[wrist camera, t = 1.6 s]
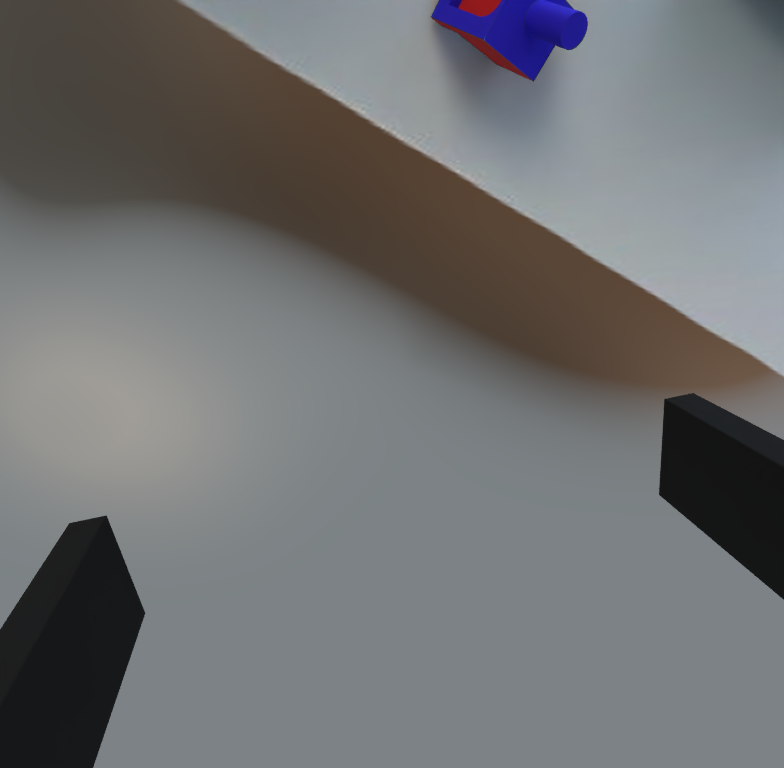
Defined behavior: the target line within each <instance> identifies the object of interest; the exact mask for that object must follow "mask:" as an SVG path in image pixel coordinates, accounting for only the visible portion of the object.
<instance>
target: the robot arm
mask: <svg viewBox="0 0 784 768" xmlns="http://www.w3.org/2000/svg"><path fill="white" fill-rule="evenodd" d="M664 401H665V402H664V418H663V436H662V453H661V471H660V488H659V495H660V496H661V497H662V498H664V499H665V500H666V501H667V502H668V503H670V504H671V505H672V506H673V507H674V508H676V509H677V510H678V511H679V512H680V513H681V514H683V515H684V516H685V517H686V518H687V519H689V520H690V521H691V522H692V523H694V524H695V525H696V526H697V527H698V528H699V529H701V530H702V531H703V532H704V533H705V534H707V535H708V536H709V537H710V538H712V540H714V541H715V542H716V543H717V544H718V545H720V546H721V547H722V548H723V549H724V550H725V551H727V552H728V553H729V554H730V555H731V556H733V557H734V558H735V559H736V560H737V561H738V562H740V563H741V564H742V565H743V566H744V567H746V568H747V569H748V570H749V571H750V572H752V573H753V574H754V575H755V576H756V577H758V578H759V579H760V580H761V581H762V582H763V583H765V584H766V585H767V586H768V587H769V588H771V589H772V590H773V591H774V592H775V593H777V594H778V595H779V596H780V597H782V598H783V599H784V440H782V439H780V438H779V437H776V436H775V435H773V434H771V433H769V432H767V431H765V430H763V429H761V428H759V427H757V426H755V425H753V424H751V423H750V422H748V421H746V420H744V419H742V418H740V417H738V416H736V415H734V414H732V413H730V412H728V411H727V410H725V409H723V408H721V407H719V406H717V405H715V404H713V403H711V402H709V401H707V400H705V399H703V398H701V397H700V396H698V395H696V394H694V393H692V394H688V395H682V396H677V397H673V398H668V399H665V400H664ZM144 615H145V612H144V609H143V607H142V604H141V602H140V599H139V596H138V594H137V591H136V589H135V586H134V584H133V582H132V579H131V576H130V574H129V572H128V569H127V566H126V564H125V561H124V559H123V556H122V554H121V551H120V548H119V546H118V543H117V542H116V538H115V536H114V533H113V531H112V528H111V526H110V523H109V521H108V518H107V516H102V517H98V518H92V519H88V520H83V521H78V522H73V523H69V525H68V526H67V528H66V529H65V531H64V532H63V534H62V535H61V537H60V539H59V540H58V542H57V543H56V545H55V546H54V548H53V549H52V551H51V552H50V554H49V555H48V557H47V558H46V560H45V562H44V563H43V565H42V566H41V568H40V569H39V571H38V572H37V574H36V575H35V577H34V579H33V580H32V582H31V583H30V585H29V586H28V588H27V589H26V591H25V592H24V594H23V595H22V597H21V598H20V600H19V602H18V603H17V605H16V606H15V608H14V609H13V611H12V612H11V614H10V615H9V617H8V618H7V620H6V622H5V623H4V625H3V627H2V628H1V629H0V768H93V766H94V763H95V760H96V757H97V754H98V751H99V748H100V745H101V742H102V739H103V737H104V734H105V731H106V728H107V724H108V722H109V719H110V716H111V712H112V710H113V707H114V704H115V701H116V698H117V695H118V692H119V689H120V686H121V683H122V680H123V677H124V674H125V671H126V668H127V665H128V662H129V660H130V657H131V654H132V651H133V648H134V645H135V642H136V639H137V636H138V633H139V630H140V627H141V624H142V621H143V618H144Z"/></svg>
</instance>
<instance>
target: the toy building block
mask: <svg viewBox="0 0 784 768" xmlns="http://www.w3.org/2000/svg"><path fill="white" fill-rule="evenodd" d="M431 18H432V19H433V20H435V21H436V22H437V23H438V24H440V25H441V26H443V27H445V28H448V29H450V30H452V31H455V32H457V33H458V34H460V35H461V36H462V37H463V38H465V39H466V40H467V41H468V42H470V43H471V44H472V45H473V46H475V47H476V48H477V49H478V50H479V51H481V52H482V53H483V54H484V55H486V56H487V57H488V58H489V59H491V60H492V61H493V62H494V63H496V64H497V65H499V66H501V67H503V68H506V69H508V70H510V71H512V72H514V73H516V74H518V75H521V76H523V77H525V78H527V79H529V80H531V81H533V82H534V80H535V78H536V77H537V75H538V73H539V72H540V70H541V68H542V67H543V65H544V63H545V62H546V60H547V58H548V57H549V55H550V53H551V52H552V50H553V48H554V47H555V45H556V46H558V47H561V48H564V49H566V50H572V49H574V48H576V47H577V46H578V45H579V44H580V43H581V42H582V40H583V38H584V37H585V34H586V31H587V26H588V22H587V17H586V15H585V14H584V13H582V12H580V11H577V10H574V9H573V8H572V7H571V6H570V5H569V3H568V2H567V1H566V0H439V1H438V3H437V5H436V7H435V10H434V12H433V14H432V16H431Z"/></svg>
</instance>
